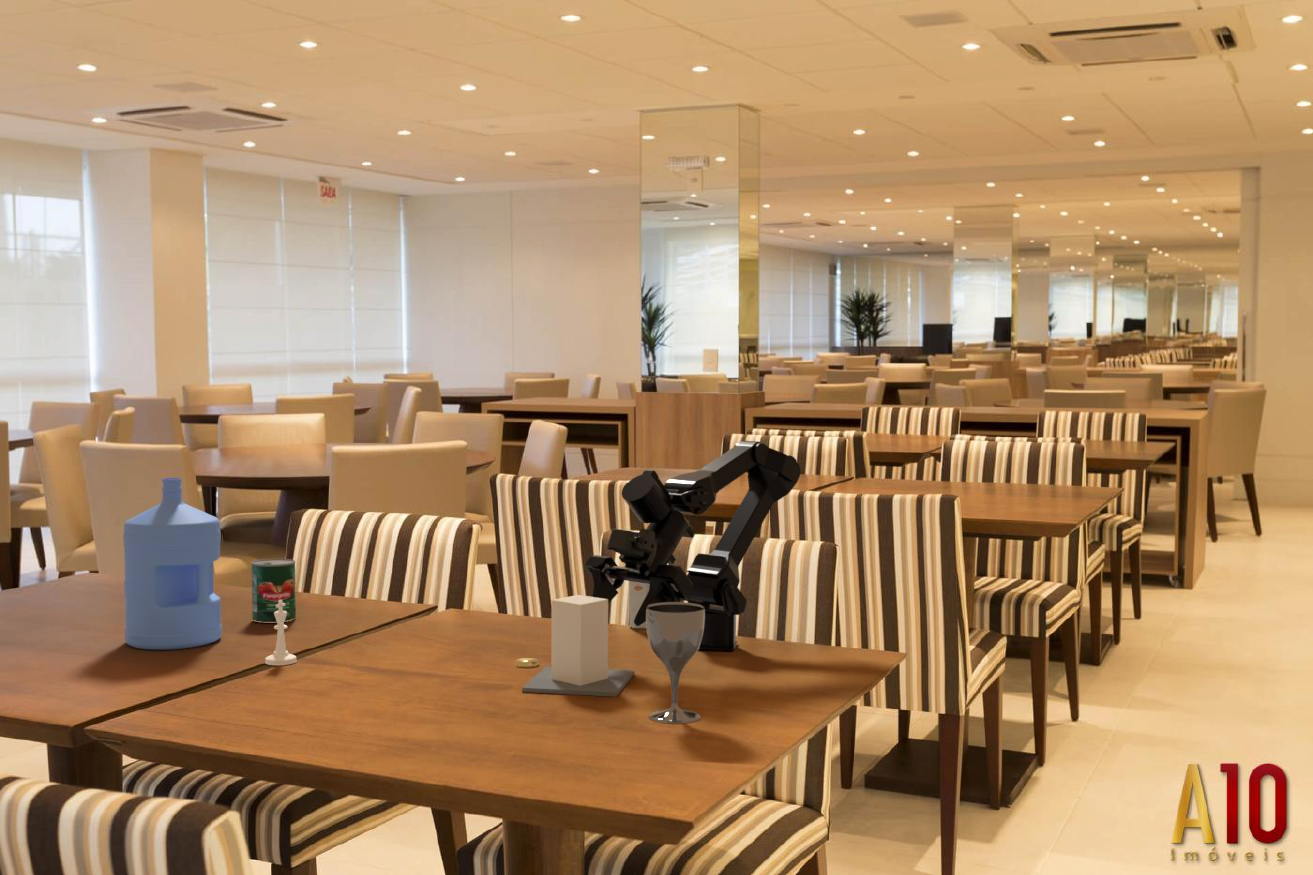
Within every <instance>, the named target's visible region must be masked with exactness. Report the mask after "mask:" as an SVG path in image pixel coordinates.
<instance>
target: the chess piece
mask: <svg viewBox="0 0 1313 875" xmlns="http://www.w3.org/2000/svg"><path fill="white" fill-rule="evenodd" d="M283 606H285V603H282V600H278V604H277V605H276V608H279V610H278V611H276V612H274V615H275V618H276V621H277V624H276V625H274V627H273V629H274V630H277V634H276V642H275V643H276V644H275V649H274V651H273V652H272V653H273V654H271V655H268V656H266V657H265V661H264V664H266V665H269V666H287V665H292V664H295V663H297V661H298V660H297V656H296V655H294V654H292V653H289V651H288V650H287V646H286V639H285V630H286V629H288V625H286V624H285V623H284V622H285V618H286V616H287V612H286V611H283Z"/></svg>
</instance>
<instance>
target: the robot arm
mask: <svg viewBox="0 0 1313 875" xmlns="http://www.w3.org/2000/svg"><path fill="white" fill-rule="evenodd" d="M801 472H802V471H801V466H800V463H798V462H797V459H796V458H795V456H793V455H789V454H788V455H787V454H786V453H783V452H781V451H778V450H777V449H774V448H771V447H769V446H767V445H766V444H765V443H763V442H761V441H754V440H753V441H752V440H741V441H738V442H736V443H735V444H734V446H733V447H732V448H730V449H728V451H726V452H725V453H723V454H721V455H720V456H718V457H717V458H716V459H713V461H710V462H709V463H708V464H706V465H704V466H703V467H702V468H700V469H699V470H696V471H693V472H688V473H687V472H686V473H681V474H679V475H676V476H673V477H671V478H669V479H668V480H666V482H665V483H664V484H663V482H662V480H660V476H659V474H658V473H657V472H656V470H651V469H644V470H643V472H642V474H639V475H636V476H635V477H633V478H631V479H630V480H629V481H628V482H626V483H625V484H624V485H623V487H622V488H621V489H622V490H621V497H622V499H623V500H624V501H625V503H626V504H627V506H628V507H629V508H630V510H631V511H632V512H633V513H634V515H635V516H636V517H637V519H638V520H639V521H640V523H643V524H648V525H647V527H646V528H641V529H640V530H639V532H638V531H632V530H628V529H627V530H626V529H619V528H612V529H611V531H610V536H609V539H608V542H607V545H606V549H607V550H609V551H614V552H615V553H617V554H619V556H618V559H619V561H621V563H624V566H618V564H617V562H615V560H614V559H613V558H612V557H611V556H605V555H596V554H594V555H590V556H589V557H588V559H587V561H586V563H585V564H584V566H583V567H584V569H585V570H586V571H587V573H588V574H589V576H590V577H591V578H592V582H593V590H592V596H591V597H596V598H603V599H608V605H609V604H610V603H611V601H612V600H613V599H614V598H615V597H616V596H617V595H618V594H619V591H618V589H620V588H621V587H622V586H623V584H624V582H625V581H627V582H629V581H633V582H639V583H642V584H649V592H648V594H647V596H646V597H645V599H644V601H643V603H642V605H641V607H640V609H639V611H638V612H637V615H636V617H635V619H634V624H635V625H636V626H640V625H641V624H643V623H644V622H646V607H647V606H648V605H650V604H655V603H663V602H682V601H683V602H687V603H694V604H699V605H702V606H704V608H705V620H704V631H703V637H702V641H701V645H700V647H699V649H698V650H700V649H708V650H707V651H723V650H728V651H727V652H734V650H735V649H736V646H737V645H738V640H737V638H736V637H737V636H736V635H737V631H736V630H737V616H739V615H741V614H743V613H744V612H745V610H746V606H747V601H748V600H747V598H746V597H745V596H744V594H743V593H742V591H741V590H740V588H739V587H738V586H739V585H740V582H741V581H740V572H739V566H740V564H741V562H742V560H743V559H744V556H745V555H746V554H747V552H748V550H749V549H750V548H749V547H750V546H751V544H752V542H753V541H754V538H755V537H756V535H757V534H758V531H759V530H760V529H761V527H762V524H763V523H764V521H765V519H766V517H767V516H768V513H770V510H771V509H772V506H774V504H775V503H777V501H780V500H781V499H783V498H784V497H786V496H788V495H789V494H790V493H791V491H792V490H793V489H794V487H795V486H796V485H797V483H798V481H799V479H800V476H801ZM744 474H747V483H748V489H747V492H746V494H745V495H744V497H743V499H742V501H741V502H740V504H739V506H738V508H737V509H736V511H735V513H734V515H733V517H732V518H731V520H730V521H729V523H728V525H727V526H726V528H725V531H723V534H722V535H721V537H720V539H719V540H718V543H717V544H716V545H715V548H714V549H713V551H711V552H710V553H709V554H708V553H702V552H699V553H697V554H696V555H695V557H694V559H693V561H692V564H691V565H690V566H689V568H688V569H686V572H687V573H686V572H685V571H684V569H683V568H682V566H680V565H674V563H675V561H676V560H677V559H676V558H675V555H673V554H674V552H675V551H676V549H677V548H678V545H679V544H680V542H681V540H682V538H691V539H693V538H694V536H695V530H694V529H693V526H692V524H693V523H692V521H691V520H687V518H686V517H685V516H684V515H685V514H687V515H697V516H698V515H699V516H701V515H703V514H705V513H706V511H708V509H709V508H711V506H713V505H714V503H715V502H716V498H717V494H718V493H720V491H722V490H723V489H724V488H725V487H727V486H729V485H730V484H731V483H733V482H734V481H735V480H737V479H738V478H740V477H742V476H743V475H744Z"/></svg>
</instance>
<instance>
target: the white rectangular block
mask: <svg viewBox="0 0 1313 875" xmlns="http://www.w3.org/2000/svg"><path fill="white" fill-rule="evenodd" d="M550 619H551V621H550V623H551V626H550V627H551V632H550V633H551V644H550V645H551V646H550V648H551V651H550V652H551V659H550V661H551V679H553V680H557V681H562V682H566V683H571V684H575V685H580V686H581V685H585V684H589V683H592V682H596V681H600V680H604V679H607V678H608V669H609V604H608V599H603V598H596V597H592V596H589V595H584V594H583V595H582V594H575V595H570V596H566V597H560V598H555V599H551V618H550Z"/></svg>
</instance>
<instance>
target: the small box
mask: <svg viewBox="0 0 1313 875" xmlns="http://www.w3.org/2000/svg"><path fill="white" fill-rule="evenodd" d="M628 583H629V584H628V587H629V588H628V589H629V590H628V593H629V595H628V597H629V598H628V604H629V605H628V606H629V608H628V611H629V613H628V614H629V615H628V616H629V619H628V621H629V622H628V623H629V628H630V627H634V628H633V629H647V627H646V622H644V623H643V624H641V625H640V626H636V625H635V624H634V619H635V617H636V615H637V612H638V611H639V609H640V607H641V605H642V603H643V601H644V599H645V597H646V596H647V594H648V592H649V584H642V583H639V582H633V581H628Z"/></svg>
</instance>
